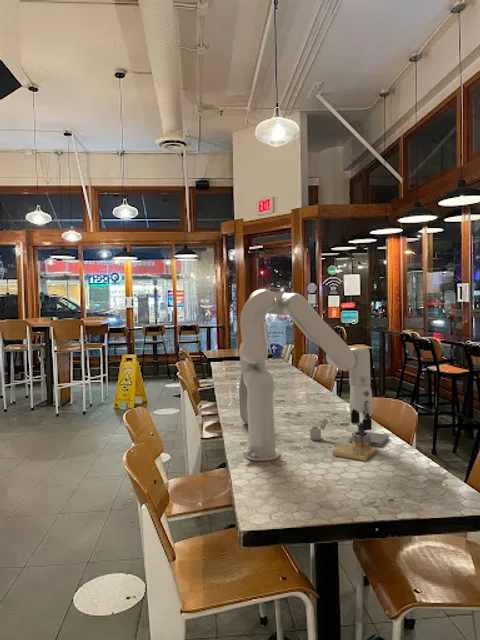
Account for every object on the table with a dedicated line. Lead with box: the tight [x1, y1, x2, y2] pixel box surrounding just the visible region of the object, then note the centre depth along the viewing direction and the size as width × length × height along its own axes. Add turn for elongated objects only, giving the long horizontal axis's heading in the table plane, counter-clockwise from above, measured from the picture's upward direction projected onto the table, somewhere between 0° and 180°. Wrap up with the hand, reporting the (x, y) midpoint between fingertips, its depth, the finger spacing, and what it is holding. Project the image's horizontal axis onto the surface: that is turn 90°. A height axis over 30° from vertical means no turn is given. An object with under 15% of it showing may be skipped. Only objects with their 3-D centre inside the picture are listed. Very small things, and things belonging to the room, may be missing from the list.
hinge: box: [332, 430, 390, 462], centre depth 166 cm, size 27×12×5 cm, turn 146°
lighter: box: [309, 418, 329, 441], centre depth 178 cm, size 7×2×8 cm, turn 87°
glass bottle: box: [238, 368, 248, 425], centre depth 202 cm, size 10×10×28 cm
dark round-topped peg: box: [356, 422, 366, 436], centre depth 166 cm, size 3×3×9 cm
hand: (361, 426), depth 166 cm, fingers open, 9 cm apart
